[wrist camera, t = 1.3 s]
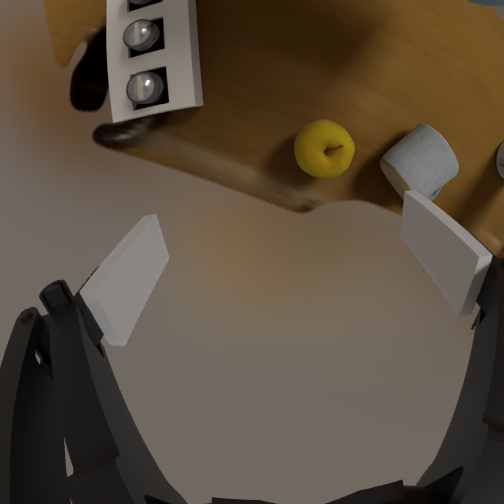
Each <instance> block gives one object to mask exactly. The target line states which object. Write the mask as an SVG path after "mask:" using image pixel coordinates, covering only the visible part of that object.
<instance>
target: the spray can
mask: <svg viewBox="0 0 504 504" xmlns="http://www.w3.org/2000/svg"><path fill="white" fill-rule="evenodd" d="M496 166H497V169H498V172H499V174H500V175H501V177H503V178H504V142H503V143H502V144H501V145H500V146H499V148H498V151H497V156H496Z"/></svg>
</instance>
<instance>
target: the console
mask: <svg viewBox="0 0 504 504" xmlns="http://www.w3.org/2000/svg"><path fill="white" fill-rule="evenodd" d="M161 18H163V21H164V42H165V49H162V50H158V51H154V52H150V53H146V54H143V55H139V56H136V57H133V58H131V55H130V48H129V47H127V46H126V45H125V44H124V42H123V34H124V31H125V29H126V28H127V27H128V25H130V24H131V23H132V22H134V21H136V20H139V19H147V20H149V21H153V20H157V19H161ZM106 29H107V64H108V79H109V91H110V101H111V110H112V118H113V123H116V122H121V121H127V120H131V119H135V118H139V117H144V116H148V115H153V114H158V113H163V112H168V111H173V110H179V109H185V108H191V107H198V106H204V105H203V95H202V84H201V72H200V60H199V47H198V32H197V16H196V0H163V2H160V3H156V4H153V5H150V6H146V7H143V8H140V9H137V10H134V11H131V12H129V1H128V0H107V27H106ZM162 67H166V71H167V82H168V93H169V103H166V104H161V105H156V106H152V107H147V108H143V109H139V110H135V103H133V102H132V101H130V100H129V98H128V97H127V94H126V86H127V83H128V81H129V79H130V78H131V77H132V75H134V74H136V73H138V72H141V71H150V70H154V69H158V68H162Z"/></svg>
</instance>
